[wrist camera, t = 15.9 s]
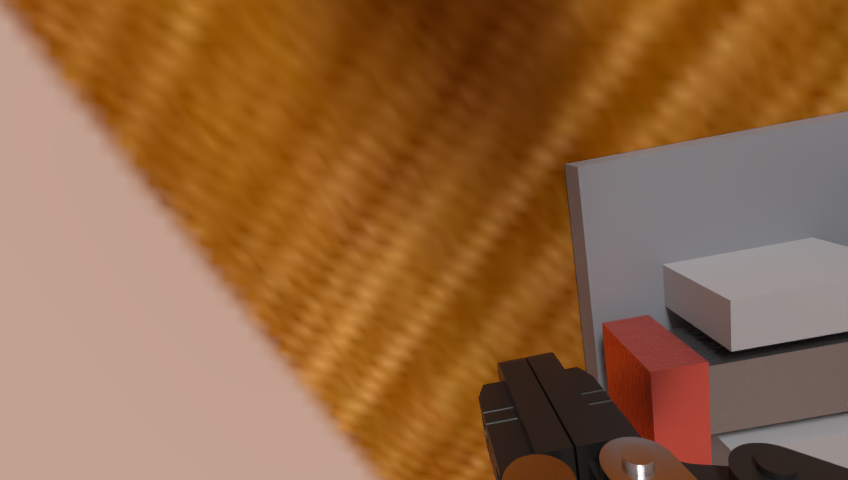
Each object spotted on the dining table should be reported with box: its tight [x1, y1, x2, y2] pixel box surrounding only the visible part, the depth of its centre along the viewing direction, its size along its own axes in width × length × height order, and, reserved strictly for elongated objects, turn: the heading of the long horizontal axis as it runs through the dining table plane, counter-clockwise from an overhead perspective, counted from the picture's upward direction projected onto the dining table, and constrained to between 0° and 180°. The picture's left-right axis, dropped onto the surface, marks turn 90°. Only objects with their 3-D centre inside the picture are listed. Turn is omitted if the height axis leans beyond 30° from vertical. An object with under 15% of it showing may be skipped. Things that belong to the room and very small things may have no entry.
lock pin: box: [602, 315, 848, 465], centre depth 11 cm, size 9×3×2 cm, turn 100°
